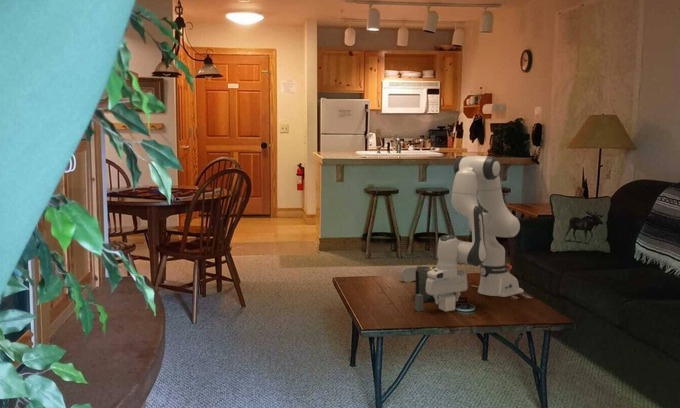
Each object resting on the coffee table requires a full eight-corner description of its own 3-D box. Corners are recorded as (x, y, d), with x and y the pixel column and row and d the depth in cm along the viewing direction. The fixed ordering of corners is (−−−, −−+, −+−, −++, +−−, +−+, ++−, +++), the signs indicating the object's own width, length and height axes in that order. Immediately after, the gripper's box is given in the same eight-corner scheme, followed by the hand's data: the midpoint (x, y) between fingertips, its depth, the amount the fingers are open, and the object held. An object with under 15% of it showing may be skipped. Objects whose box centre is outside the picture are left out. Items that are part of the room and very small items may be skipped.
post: (420, 309, 277) (420, 293, 276) (423, 310, 274) (423, 295, 274) (414, 309, 276) (415, 294, 275) (418, 311, 273) (418, 296, 272)
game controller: (435, 280, 331) (435, 264, 330) (436, 281, 328) (436, 265, 327) (400, 281, 327) (400, 266, 326) (401, 282, 325) (401, 267, 324)
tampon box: (435, 302, 288) (435, 271, 286) (415, 301, 289) (415, 270, 288) (436, 296, 298) (436, 266, 297) (417, 295, 300) (417, 265, 298)
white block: (448, 307, 280) (448, 292, 279) (455, 310, 275) (455, 295, 274) (438, 308, 278) (438, 294, 277) (445, 311, 273) (445, 296, 272)
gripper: (462, 268, 281) (461, 298, 283) (423, 272, 273) (423, 303, 274) (470, 271, 276) (470, 301, 277) (431, 275, 267) (431, 306, 269)
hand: (446, 302), depth 276 cm, fingers open, 8 cm apart
